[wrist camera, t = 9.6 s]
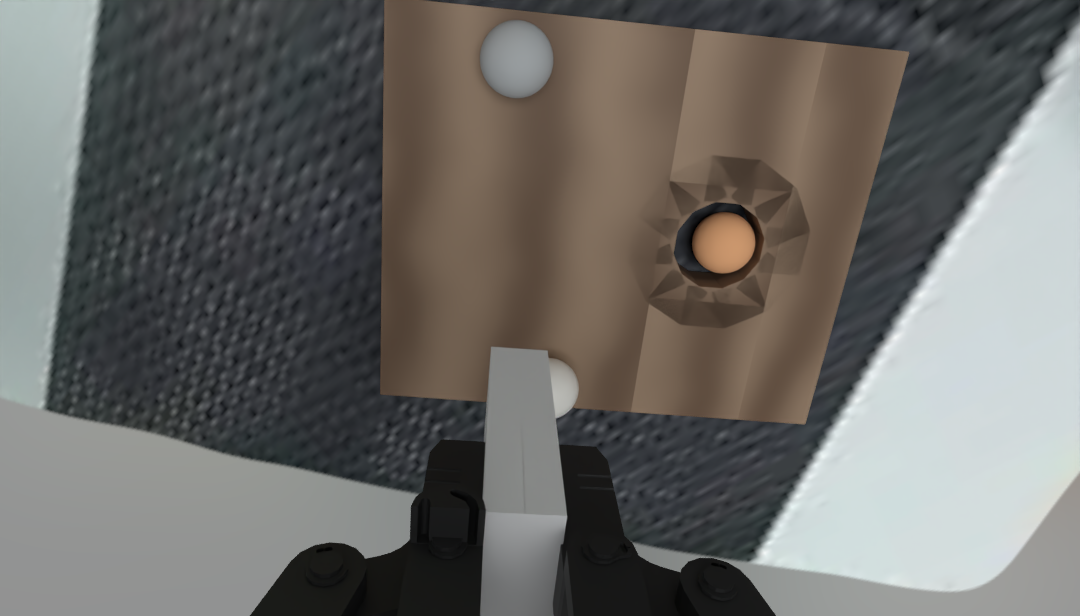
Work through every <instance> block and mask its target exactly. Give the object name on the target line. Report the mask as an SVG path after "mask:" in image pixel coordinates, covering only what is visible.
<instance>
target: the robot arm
mask: <svg viewBox="0 0 1080 616" xmlns="http://www.w3.org/2000/svg"><path fill="white" fill-rule="evenodd" d="M410 528H411V529H410V540H409V541H408V542H407V543H406V544H405V545H404V546H402V547H401V548H399V549H397V550H395V551H393V552H391V553H388V554H385V555H381V556H377V557H372V558H367V559H365V558H364V556H363V555H362V554H361V553H360V552H359V551H358V550H357V549H356V548H354V547H351V546H349V545H346V544H342V543H325V544H320V545H315V546H313V547H310V548H308V549H306V550H304V551H302V552H300V553H299V554H298V555H297V556H296V557H295V558H294V559H293V560H292V561H291V562H290V563H289V564H288V566H287V567H286V568H285V570H284V571H283V572H282V574H281V575H280V576H279V578H278V579H277V580H276V582H275V583H274V585H273V586H272V587H271V588H270V590H269V591H268V593H267V594H266V595H265V596H264V598H263V599H262V600H261V602H260V603H259V604H258V606H257V607H256V608H255V610H254V611H253V612H252V614H251V615H250V616H553V614H554V616H776V615H775V614H774V612H773V611H772V610H771V608H770V607H769V605H768V604H767V603H766V601H765V600H764V599H763V597H762V596H761V595H760V593H759V592H758V590H757V589H756V588H755V586H754V585H753V584H752V582H751V581H750V580H749V579H748V578H747V577H746V576H745V575H744V574H743V573H742V572H741V571H740V570H739V569H737V568H736V567H734V566H732V565H731V564H729V563H727V562H724V561H721V560H717V559H714V558H698V559H695V560H692V561H689V562H688V563H687V564H686V565H685V566H684V567H683V568H682V569H681V573H680V572H677V571H673V570H670V569H667V568H663V567H660V566H657V565H655V564H652V563H650V562H648V561H646V560H645V559H643V558H641V557H640V556H638V553H637V551H636V549H635V547H634V545H633V543H632V542H630V541H629V540H628V539H627V538H626V537H625V536H624V532H623V528H622V523H621V519H620V514H619V510H618V505H617V501H616V496H615V492H614V487H613V483H612V479H611V474H610V469H609V465H608V461H607V459H606V458H605V457H604V456H603V455H602V454H601V452H600V451H599V450H598V449H597V448H596V447H590V446H573V445H559V443H558V434H557V426H556V417H555V409H554V400H553V392H552V383H551V375H550V366H549V358H548V351H547V350H532V349H518V348H503V347H491V355H490V367H489V380H488V393H487V406H486V419H485V432H484V442H477V441H460V440H441V441H440V442H439V443H438V444H437V445H436V446H435V447H434V448H433V449H432V451H431V452H430V455H429V460H428V466H427V471H426V477H425V483H424V488H423V492H422V493H420V494H419V495H418V496H417V497H416V498H415V500H414V501H413V503H412V505H411V526H410Z"/></svg>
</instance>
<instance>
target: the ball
mask: <svg viewBox="0 0 1080 616" xmlns="http://www.w3.org/2000/svg"><path fill="white" fill-rule="evenodd" d="M692 249H693V253H694V255H695V257H696V259H697V261H698V262H699V263H700V264H701V265H702V266H703V267H704V268H706V269H707V270H710V271H712V272H715V273H731V272H734V271H737V270H738V269H740V268H742V267H743V266H744V265H745V264H746V263H747V262H748V261H749V260H750V258H751V257H752V255H753V252H754V249H755V235H754V232H753V229H752V227H751V226H750V224H749V223H748V222H747V221H746V220H745V219H744V218H742V217H741V216H739V215H737V214H734V213H730V212H718V213H714V214H712V215H710V216H708V217H706V218H705V219H703V220H702V221H701V222H700V223H699V225H698V226H697V228H696V229H695V232H694V234H693V238H692Z"/></svg>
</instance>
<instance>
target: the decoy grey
mask: <svg viewBox="0 0 1080 616" xmlns="http://www.w3.org/2000/svg"><path fill="white" fill-rule="evenodd" d="M480 66H481V70H482V73H483V76H484V78H485V80H486V81H487V83H488V84H489V85H490V86H491V87H492V88H493V89H494V90H495V91H496V92H498V93H499V94H501V95H503V96H506V97H510V98H524V97H528V96H531V95H533V94H535V93H536V92H538V91H539V90H540V89H541V88H542V87H543V86H544V85H545V84H546V82H547V81H548V79H549V77H550V75H551V72H552V68H553V51H552V47H551V44H550V42H549V40H548V38H547V37H546V35H545V34H544V33H543V32H542V31H541V30H540V29H539V28H538V27H537V26H535V25H533V24H531V23H529V22H526V21H522V20H510V21H506V22H503V23H501V24H499V25H497V26H496V27H495V28H493V29H492V30H491V31H490V32H489V33H488V35H487V36H486V38H485V40H484V41H483V44H482V47H481V51H480Z"/></svg>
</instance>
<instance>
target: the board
mask: <svg viewBox="0 0 1080 616" xmlns="http://www.w3.org/2000/svg"><path fill="white" fill-rule="evenodd" d="M510 20H522V21H526V22H529V23H531V24H533V25H535V26H537V27H538V28H539V29H540V30H541V31H542V32H543V33H544V34H545V35H546V37H547V38H548V40H549V42H550V44H551V47H552V51H553V68H552V72H551V75H550V77H549V79H548V81H547V82H546V84H545V85H544V86H543V87H542V88H541V89H540V90H539V91H538V92H536V93H535V94H533V95H531V96H528V97H524V98H510V97H506V96H503V95H501V94H499V93H498V92H496V91H495V90H494V89H493V88H492V87H491V86H490V85H489V84H488V83H487V81H486V80H485V78H484V76H483V73H482V70H481V66H480V51H481V47H482V44H483V41H484V40H485V38H486V36H487V35H488V33H489V32H490V31H491V30H492V29H493V28H495V27H496V26H497V25H499V24H501V23H503V22H506V21H510ZM908 55H909V52H906V51H896V50H887V49H877V48H868V47H859V46H849V45H840V44H830V43H821V42H811V41H802V40H792V39H783V38H774V37H764V36H755V35H745V34H736V33H726V32H717V31H707V30H698V29H689V28H679V27H670V26H660V25H651V24H641V23H632V22H622V21H613V20H604V19H594V18H585V17H575V16H566V15H556V14H547V13H537V12H528V11H519V10H509V9H500V8H490V7H481V6H471V5H462V4H452V3H443V2H434V1H424V0H384V90H383V183H382V276H381V368H380V394H381V395H395V396H409V397H423V398H438V399H452V400H466V401H480V402H487V393H488V380H489V367H490V355H491V347H503V348H518V349H532V350H547V351H548V358H555V359H558V360H561V361H563V362H564V363H566V364H567V365H568V366H569V367H571V369H572V370H573V371H574V373H575V375H576V377H577V380H578V385H579V393H578V397H577V400H576V402H575V404H574V406H573V407H572V408H580V409H595V410H609V411H623V412H637V413H652V414H666V415H680V416H694V417H709V418H723V419H737V420H751V421H766V422H780V423H794V424H805V423H806V419H807V416H808V412H809V409H810V405H811V402H812V398H813V394H814V391H815V387H816V384H817V380H818V377H819V373H820V369H821V366H822V362H823V359H824V355H825V352H826V348H827V344H828V341H829V337H830V334H831V330H832V327H833V323H834V319H835V316H836V312H837V309H838V305H839V302H840V298H841V294H842V291H843V287H844V284H845V280H846V277H847V273H848V269H849V266H850V262H851V259H852V255H853V252H854V248H855V244H856V241H857V237H858V234H859V230H860V227H861V223H862V219H863V216H864V212H865V209H866V205H867V202H868V198H869V194H870V191H871V187H872V184H873V180H874V177H875V173H876V169H877V166H878V162H879V159H880V155H881V152H882V148H883V144H884V141H885V137H886V134H887V130H888V127H889V123H890V119H891V116H892V112H893V109H894V105H895V102H896V98H897V94H898V91H899V87H900V84H901V80H902V77H903V73H904V69H905V66H906V62H907V59H908ZM715 202H722V203H733V204H740V205H741V206H743V209H744V212H745V214H746V217H747V220H748V223H749V224H750V226H751V227H752V229H753V232H754V235H755V249H754V252H753V255H752V257H751V258H750V260H749V261H748V262H747V263H746V264H745V265H744V266H743V267H742V268H740V269H738V270H737V271H734V272H731V273H715V272H710V273H709V272H697V271H688V270H686V269H685V268H684V267H682V266H681V265H679V264H678V263H677V261H676V259H675V256H674V248H675V243H676V237H677V232H678V230H679V229H680V227H681V226H682V225H683V224H684V223H685V221H686V220H687V219H688V218H689V216H690V215H691V214H692V213H693V212H694V211H696V210H699V209H701V208H703V207H705V206H708V205H710V204H712V203H715Z"/></svg>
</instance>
